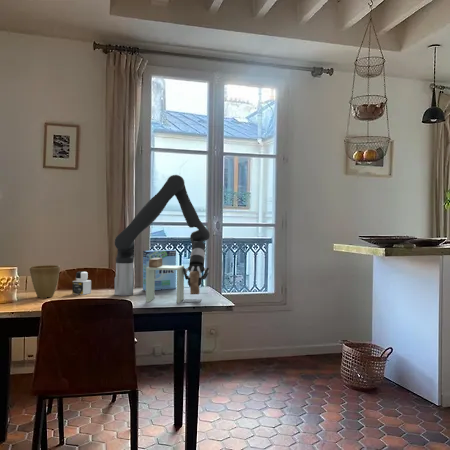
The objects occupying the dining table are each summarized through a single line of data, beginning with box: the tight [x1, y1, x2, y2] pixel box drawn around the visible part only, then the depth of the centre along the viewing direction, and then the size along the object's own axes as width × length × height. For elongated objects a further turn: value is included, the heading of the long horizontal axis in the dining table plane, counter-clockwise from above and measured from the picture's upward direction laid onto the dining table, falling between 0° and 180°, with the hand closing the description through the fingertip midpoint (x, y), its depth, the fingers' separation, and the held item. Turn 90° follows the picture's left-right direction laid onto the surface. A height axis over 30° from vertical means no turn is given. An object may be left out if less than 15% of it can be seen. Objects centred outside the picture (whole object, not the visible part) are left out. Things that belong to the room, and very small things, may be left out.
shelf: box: [145, 265, 185, 304], centre depth 231 cm, size 17×13×17 cm
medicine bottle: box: [71, 271, 92, 296], centre depth 251 cm, size 7×7×12 cm
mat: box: [182, 298, 202, 304], centre depth 228 cm, size 8×8×1 cm
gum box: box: [142, 249, 177, 292], centre depth 269 cm, size 20×5×23 cm, turn 123°
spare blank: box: [149, 258, 162, 268], centre depth 231 cm, size 4×11×4 cm, turn 174°
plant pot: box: [29, 264, 61, 299], centre depth 238 cm, size 15×15×16 cm
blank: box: [189, 271, 200, 295], centre depth 228 cm, size 4×4×11 cm
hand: (194, 285), depth 226 cm, fingers closed on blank, 4 cm apart
